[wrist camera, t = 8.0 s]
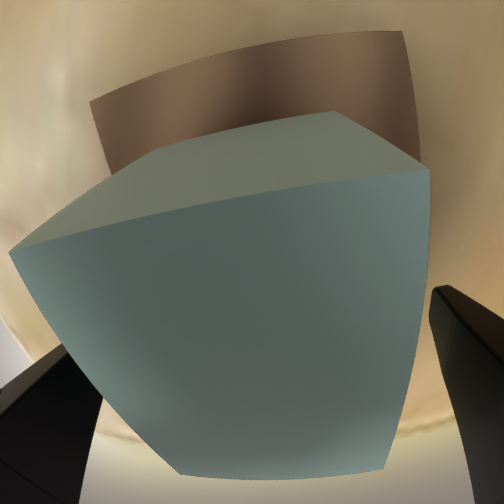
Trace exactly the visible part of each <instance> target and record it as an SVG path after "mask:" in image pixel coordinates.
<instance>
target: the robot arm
mask: <svg viewBox="0 0 504 504" xmlns="http://www.w3.org/2000/svg"><path fill="white" fill-rule="evenodd" d="M429 323H430V326H431V330H432V334H433V338H434V342H435V346H436V350H437V354H438V358H439V363H440V367H441V371H442V375H443V378H444V382H445V385H446V388H447V391H448V394H449V397H450V400H451V404H452V407H453V410H454V414H455V417H456V421H457V424H458V427H459V431H460V435H461V439H462V443H463V447H464V451H465V455H466V459H467V464H468V469H469V474H470V479H471V483H472V489H473V495H474V501H475V504H504V319H503V318H501V317H500V316H498V315H497V314H495V313H494V312H492V311H490V310H489V309H487V308H486V307H484V306H483V305H481V304H479V303H478V302H476V301H475V300H473V299H471V298H470V297H468V296H467V295H465V294H463V293H462V292H460V291H458V290H457V289H455V288H453V287H452V286H450V285H443V286H438V287H435V288H434V289H433V290H432V295H431V302H430V309H429ZM102 401H103V396H102V395H101V394H100V392H99V391H98V390H97V389H96V388H95V386H94V385H93V384H92V383H91V381H90V380H89V379H88V378H87V376H86V375H85V374H84V373H83V371H82V370H81V369H80V367H79V366H78V365H77V363H76V362H75V361H74V359H73V358H72V357H71V355H70V354H69V353H68V351H67V350H66V348H65V347H64V345H63V344H62V343H61V344H60V345H59V346H57V347H56V348H55V349H53V350H52V351H50V352H49V353H48V354H46V355H45V356H44V357H42V358H41V359H40V360H38V361H37V362H36V363H34V364H33V365H32V366H30V367H29V368H28V369H26V370H25V371H23V372H22V373H21V374H19V375H18V376H17V377H15V378H14V379H13V380H12V381H10V382H9V383H8V384H6V385H5V386H4V387H3V388H1V389H0V504H79V499H80V494H81V488H82V483H83V479H84V474H85V469H86V464H87V460H88V455H89V451H90V447H91V443H92V438H93V435H94V431H95V427H96V423H97V419H98V415H99V412H100V408H101V404H102Z"/></svg>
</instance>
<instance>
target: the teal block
mask: <svg viewBox="0 0 504 504" xmlns="http://www.w3.org/2000/svg"><path fill="white" fill-rule="evenodd" d="M429 237H430V169H429V168H427V167H426V166H424V165H423V164H421V163H420V162H418V161H417V160H416V159H414V158H413V157H411V156H410V155H408V154H407V153H405V152H404V151H402V150H400V149H399V148H397V147H396V146H394V145H393V144H391V143H389V142H388V141H386V140H385V139H383V138H381V137H380V136H378V135H376V134H375V133H373V132H371V131H370V130H368V129H366V128H365V127H363V126H361V125H359V124H358V123H356V122H354V121H352V120H351V119H349V118H347V117H345V116H343V115H341V114H340V113H338V112H336V111H329V112H322V113H315V114H308V115H302V116H296V117H290V118H284V119H278V120H273V121H267V122H262V123H257V124H252V125H248V126H243V127H238V128H234V129H229V130H225V131H221V132H216V133H212V134H208V135H204V136H200V137H196V138H193V139H189V140H185V141H181V142H178V143H174V144H171V145H167V146H164V147H160V148H157V149H154V150H153V151H151V152H149V153H147V154H146V155H144V156H142V157H141V158H139V159H137V160H136V161H134V162H132V163H131V164H129V165H127V166H126V167H124V168H123V169H121V170H119V171H118V172H116V173H115V174H113V175H112V176H110V177H108V178H107V179H105V180H104V181H102V182H101V183H99V184H98V185H96V186H95V187H93V188H92V189H90V190H89V191H87V192H86V193H85V194H83V195H82V196H80V197H79V198H77V199H76V200H75V201H73V202H72V203H70V204H69V205H68V206H66V207H65V208H63V209H62V210H61V211H59V212H58V213H57V214H55V215H54V216H53V217H51V218H50V219H49V220H47V221H46V222H45V223H44V224H42V225H41V226H40V227H38V228H37V229H36V230H35V231H33V232H32V233H31V234H30V235H28V236H27V237H26V238H25V239H23V240H22V241H21V242H20V243H19V244H17V245H16V246H15V247H14V248H13V249H12V250H10V251H9V252H8V253H9V255H10V257H11V259H12V261H13V263H14V265H15V266H16V268H17V270H18V272H19V274H20V276H21V278H22V280H23V281H24V283H25V285H26V287H27V289H28V290H29V292H30V294H31V296H32V297H33V299H34V301H35V302H36V304H37V306H38V307H39V309H40V311H41V312H42V314H43V315H44V317H45V319H46V320H47V322H48V323H49V325H50V326H51V328H52V329H53V331H54V332H55V334H56V335H57V337H58V338H59V340H60V341H61V343H62V344H63V345H64V347H65V348H66V350H67V351H68V353H69V354H70V355H71V357H72V358H73V359H74V361H75V362H76V363H77V365H78V366H79V367H80V369H81V370H82V371H83V373H84V374H85V375H86V376H87V378H88V379H89V380H90V381H91V383H92V384H93V385H94V386H95V388H96V389H97V390H98V391H99V392H100V394H101V395H102V396H103V397H104V398H105V400H106V401H107V402H108V403H109V404H110V405H111V406H112V408H113V409H114V410H115V411H116V412H117V413H118V414H119V415H120V416H121V418H122V419H123V420H124V421H125V422H126V423H127V424H128V425H129V426H130V427H131V428H132V429H133V430H134V431H135V432H136V433H137V434H138V435H139V436H140V437H141V438H142V439H143V440H144V441H145V442H146V443H147V444H148V445H149V446H150V447H151V448H152V449H153V450H154V451H155V452H156V453H157V454H158V455H159V456H160V457H161V458H163V460H165V461H166V462H167V463H168V464H169V465H170V466H171V467H172V468H174V469H175V470H176V471H177V472H178V473H179V474H181V475H189V476H198V477H208V478H222V479H241V480H288V479H308V478H321V477H331V476H341V475H349V474H356V473H363V472H369V471H375V470H381V469H383V468H384V466H385V463H386V460H387V457H388V454H389V451H390V449H391V445H392V442H393V439H394V436H395V433H396V430H397V426H398V423H399V420H400V416H401V413H402V409H403V405H404V401H405V398H406V394H407V390H408V385H409V381H410V377H411V372H412V368H413V363H414V358H415V353H416V348H417V343H418V337H419V331H420V325H421V318H422V311H423V304H424V296H425V287H426V278H427V267H428V254H429Z"/></svg>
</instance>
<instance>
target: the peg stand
mask: <svg viewBox="0 0 504 504" xmlns="http://www.w3.org/2000/svg"><path fill="white" fill-rule="evenodd" d="M89 103H90V106H91V110H92V114H93V117H94V121H95V124H96V127H97V131H98V134H99V137H100V140H101V144H102V147H103V150H104V153H105V156H106V159H107V162H108V165H109V168H110V171H111V174H112V175H113V174H115V173H116V172H118V171H119V170H121V169H123V168H124V167H126V166H127V165H129V164H131V163H132V162H134V161H136V160H137V159H139V158H141V157H142V156H144V155H146V154H147V153H149V152H151V151H153V150H154V149H157V148H160V147H164V146H167V145H171V144H174V143H178V142H181V141H185V140H189V139H193V138H196V137H200V136H204V135H208V134H212V133H216V132H221V131H225V130H229V129H234V128H238V127H243V126H248V125H252V124H257V123H262V122H267V121H273V120H278V119H284V118H290V117H296V116H302V115H308V114H315V113H322V112H329V111H336V112H338V113H340V114H341V115H343V116H345V117H347V118H349V119H351V120H352V121H354V122H356V123H358V124H359V125H361V126H363V127H365V128H366V129H368V130H370V131H371V132H373V133H375V134H376V135H378V136H380V137H381V138H383V139H385V140H386V141H388V142H389V143H391V144H393V145H394V146H396V147H397V148H399V149H400V150H402V151H404V152H405V153H407V154H408V155H410V156H411V157H413V158H414V159H416V160H417V161H418V162H420V147H419V135H418V124H417V115H416V106H415V99H414V92H413V85H412V79H411V73H410V67H409V61H408V56H407V51H406V46H405V42H404V37H403V33H402V31H371V32H352V33H339V34H328V35H319V36H311V37H303V38H296V39H290V40H283V41H278V42H272V43H267V44H262V45H257V46H252V47H247V48H243V49H239V50H234V51H230V52H226V53H222V54H218V55H215V56H211V57H207V58H204V59H200V60H197V61H194V62H190V63H187V64H184V65H181V66H178V67H175V68H172V69H169V70H166V71H163V72H160V73H157V74H155V75H152V76H149V77H146V78H144V79H141V80H139V81H136V82H134V83H131V84H129V85H126V86H124V87H121V88H119V89H117V90H114V91H112V92H110V93H107V94H105V95H103V96H101V97H99V98H97V99H94V100H92V101H90V102H89Z"/></svg>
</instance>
